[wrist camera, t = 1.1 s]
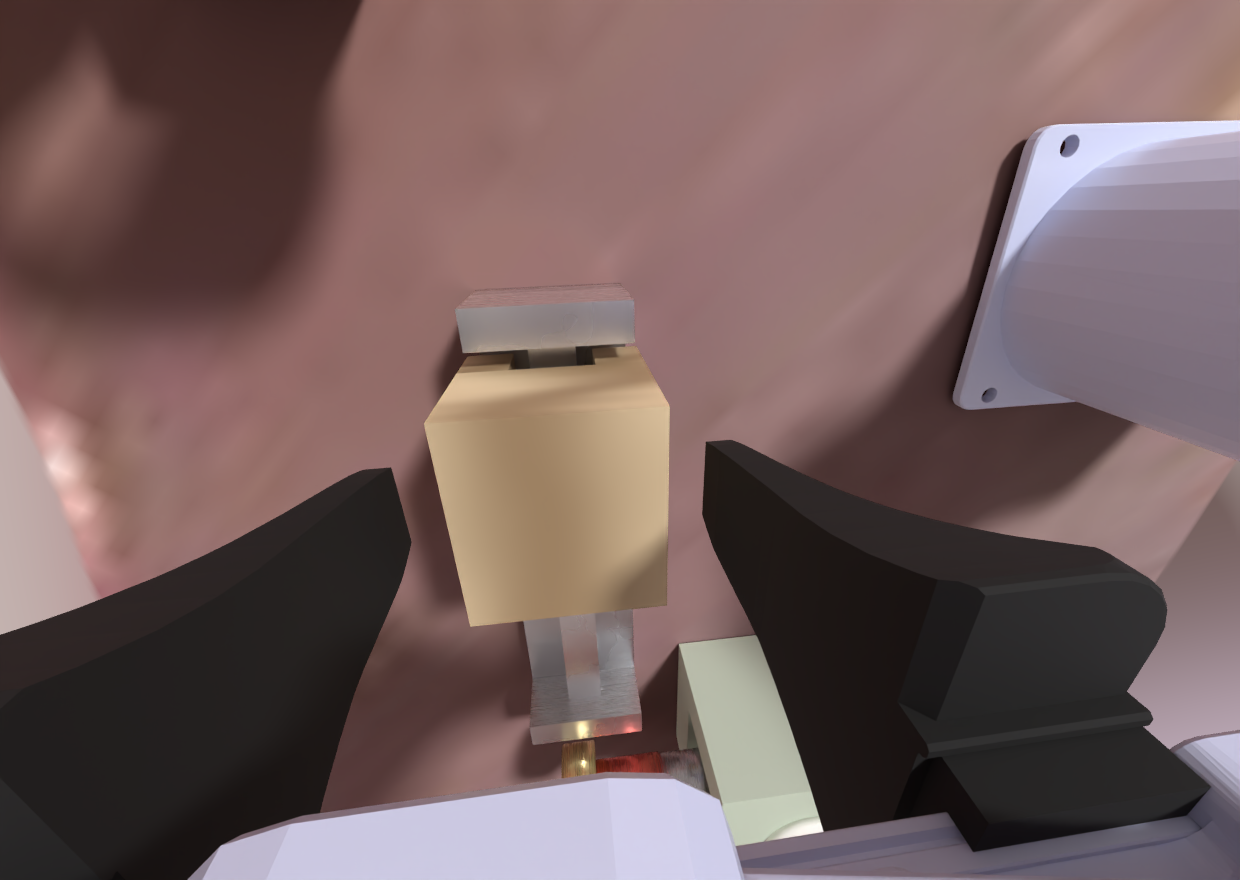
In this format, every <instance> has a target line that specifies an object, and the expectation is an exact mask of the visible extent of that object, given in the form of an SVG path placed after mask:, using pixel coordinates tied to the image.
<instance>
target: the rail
mask: <svg viewBox="0 0 1240 880" xmlns="http://www.w3.org/2000/svg"><path fill="white" fill-rule="evenodd" d="M455 312H456V318H457V323H458V329H459V334H460V340H461V346H462V351H463V353H475V352H480V356H481V355H497V354H514V361H515V368H516V370H519V369H535V368H550V367H566V366H582V365H593V356H592V349H597V348H613V347H625V343H635V334H634V299H633V298H632V297H631V296H630V295H629V293H628V292H627V291H626V290H625V289H624V287H623V286H622V285H621V284H620V283H618V284H598V285H577V286H557V287H536V288H516V289H495V290H475V291H474V292H473V293H472V294H471V295H470V296H469V297H468V298H467V299H465V300H464V301H463V302H462V303H461V304H460V305H459V306H458V307H457V308H456V309H455ZM523 622H524V628H525V634H526V640H527V646H528V653H529V659H530V665H531V671H532V677H533V680H532V696H531V713H530V733H531V738H532V744H533V745H538V744H546V743H553V742H561V741H569V740H576V739H584V738H592V737H599V736H607V735H615V734H622V733H630V732H638V731H642V712H641V706H640V700H639V694H638V687H637V681H636V675H635V669H634V646H633V610H632V609H629V610H620V611H610V612H601V613H592V614H583V615H573V616H564V617H555V618H546V619H536V620H527V621H523Z"/></svg>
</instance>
